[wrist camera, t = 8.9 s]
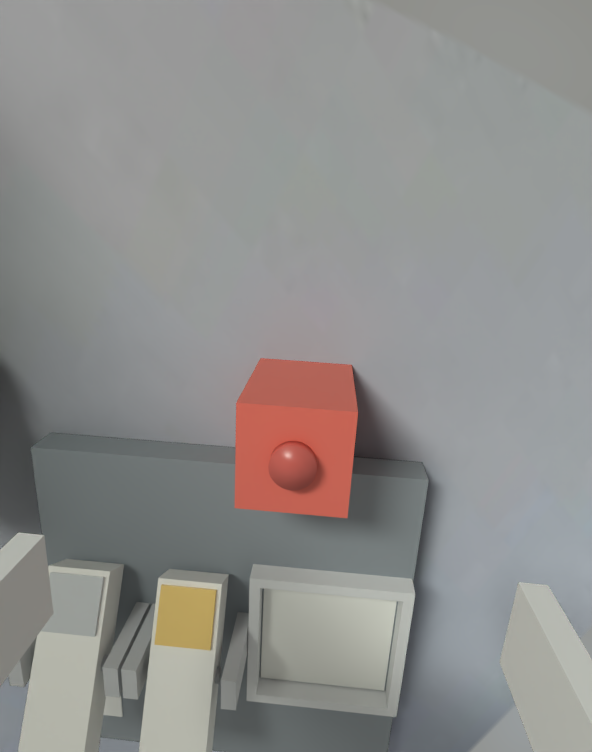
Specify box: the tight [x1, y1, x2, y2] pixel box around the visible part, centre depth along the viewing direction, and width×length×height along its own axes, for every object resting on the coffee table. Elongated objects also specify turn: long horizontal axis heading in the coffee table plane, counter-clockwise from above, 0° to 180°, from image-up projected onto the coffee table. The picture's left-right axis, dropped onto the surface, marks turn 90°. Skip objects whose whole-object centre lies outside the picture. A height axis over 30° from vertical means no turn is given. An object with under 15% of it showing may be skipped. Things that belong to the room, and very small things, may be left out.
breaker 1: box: [18, 559, 124, 752], centre depth 27 cm, size 10×4×2 cm, turn 176°
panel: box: [8, 433, 429, 752], centre depth 28 cm, size 22×22×7 cm
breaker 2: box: [139, 569, 229, 752], centre depth 26 cm, size 10×4×2 cm, turn 176°
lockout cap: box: [235, 358, 358, 518], centre depth 23 cm, size 5×5×8 cm
